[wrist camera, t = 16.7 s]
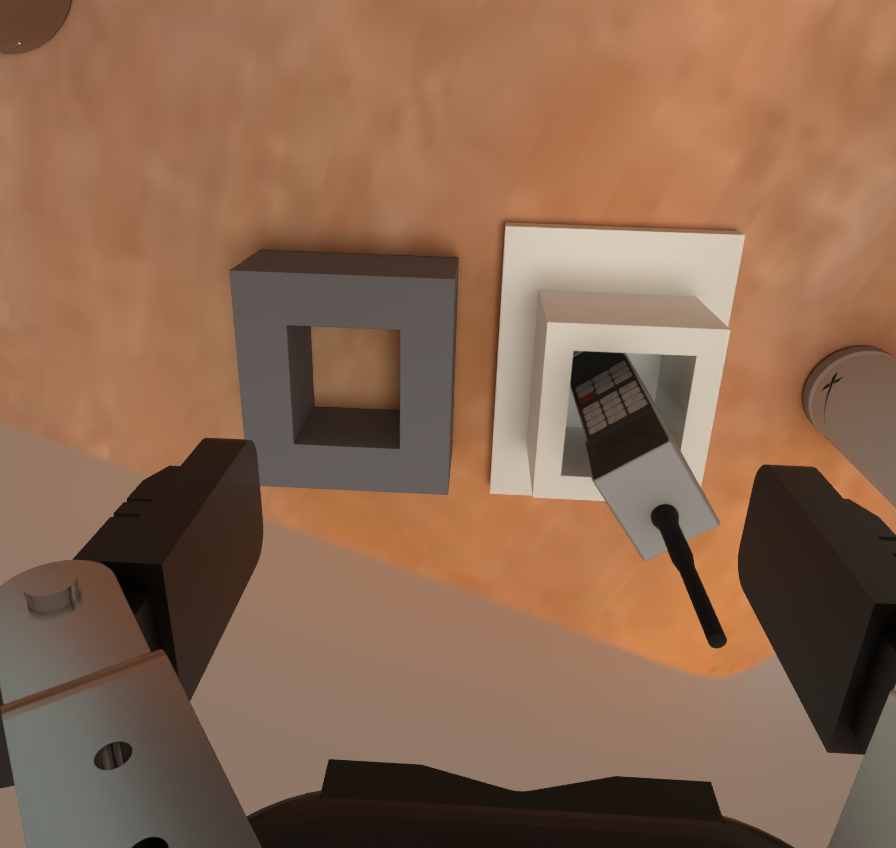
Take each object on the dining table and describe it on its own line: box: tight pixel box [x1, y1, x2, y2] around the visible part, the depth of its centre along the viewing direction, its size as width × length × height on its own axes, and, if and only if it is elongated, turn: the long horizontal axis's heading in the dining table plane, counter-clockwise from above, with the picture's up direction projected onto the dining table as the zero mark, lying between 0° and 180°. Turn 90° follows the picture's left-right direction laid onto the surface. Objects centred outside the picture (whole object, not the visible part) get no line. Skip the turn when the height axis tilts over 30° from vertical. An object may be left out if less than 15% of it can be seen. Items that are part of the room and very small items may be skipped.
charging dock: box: [490, 222, 745, 501], centre depth 45 cm, size 18×14×8 cm
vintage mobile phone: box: [570, 351, 727, 648], centre depth 36 cm, size 4×5×25 cm
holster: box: [230, 250, 459, 495], centre depth 47 cm, size 14×12×6 cm
